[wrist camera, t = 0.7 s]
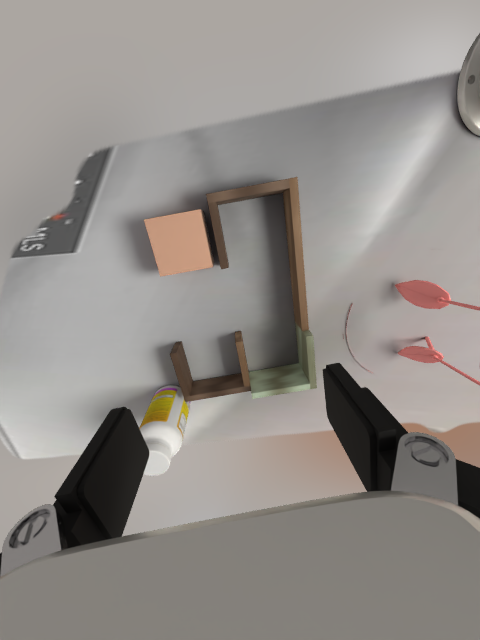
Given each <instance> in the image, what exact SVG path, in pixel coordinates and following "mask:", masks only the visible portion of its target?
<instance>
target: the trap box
mask: <svg viewBox="0 0 480 640" xmlns="http://www.w3.org/2000/svg"><path fill="white" fill-rule="evenodd" d="M280 193H283V201H284V212H285V222H286V233H287V243H288V253H289V264H290V274H291V285H292V295H293V306H294V316H295V327H296V337H297V348H298V358H299V363H297V364H291V365H286V366H280V367H274V368H268V369H262V370H257V371H251V372H248V366H247V361H246V355H245V350H244V345H243V339H242V334H241V331H238V332H235V341H236V347H237V352H238V357H239V362H240V367H241V372H242V373H239V374H233V375H227V376H222V377H216V378H210V379H204V380H198V381H193V380H192V376H191V373H190V369H189V366H188V362H187V359H186V355H185V352H184V348H183V345H182V341H181V342H176V343H175V345H174V347H173V349H172V351H171V353H170V356H171V359H172V362H173V365H174V369H175V372H176V375H177V378H178V381H179V385H180V388H181V391H182V394H183V397H184V400H185V402H188V401H194V400H200V399H206V398H212V397H218V396H224V395H229V394H235V393H241V392H247V391H251V393H252V399H255V398H261V397H267V396H273V395H278V394H284V393H290V392H296V391H302V390H308V389H314V388H317V385H316V370H315V355H314V341H313V335H312V333H311V332H310V331H309V327H308V314H307V301H306V287H305V274H304V260H303V247H302V233H301V220H300V206H299V193H298V180H297V177H295V178H290V179H284V180H279V181H274V182H268V183H263V184H258V185H252V186H247V187H242V188H236V189H231V190H226V191H220V192H215V193H210V194H206V196H207V201H208V206H209V211H210V216H211V221H212V226H213V231H214V236H215V241H216V246H217V251H218V256H219V262H220V267H221V269H225V268H228V259H227V253H226V248H225V242H224V237H223V232H222V226H221V221H220V216H219V210H218V205H221V204H226V203H232V202H237V201H242V200H248V199H253V198H258V197H264V196H269V195H275V194H280Z"/></svg>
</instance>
